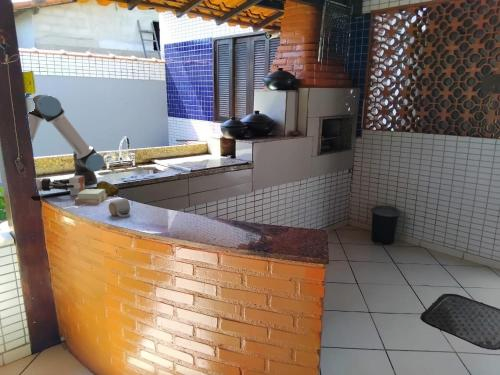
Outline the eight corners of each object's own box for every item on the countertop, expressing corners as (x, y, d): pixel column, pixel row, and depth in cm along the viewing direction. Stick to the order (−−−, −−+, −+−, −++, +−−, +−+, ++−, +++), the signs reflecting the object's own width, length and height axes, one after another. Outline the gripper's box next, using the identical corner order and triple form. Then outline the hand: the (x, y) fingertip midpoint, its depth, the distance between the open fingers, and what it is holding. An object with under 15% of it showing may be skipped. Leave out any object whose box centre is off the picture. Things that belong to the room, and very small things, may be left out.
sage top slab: (86, 194, 210) (85, 189, 210) (105, 194, 211) (105, 189, 210) (77, 198, 200) (77, 193, 199) (98, 199, 200) (97, 193, 199)
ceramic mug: (108, 214, 181) (107, 199, 180) (122, 211, 187) (122, 196, 186) (119, 219, 175) (118, 204, 173) (134, 215, 181) (133, 200, 179)
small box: (79, 195, 216) (78, 178, 214) (70, 195, 216) (68, 178, 214) (85, 192, 224) (84, 175, 222) (76, 192, 224) (75, 175, 222)
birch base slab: (84, 198, 212) (84, 193, 212) (107, 198, 213) (107, 193, 212) (75, 204, 200) (74, 199, 199) (99, 204, 200) (98, 199, 199)
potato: (109, 197, 213) (108, 184, 211) (94, 194, 219) (93, 181, 217) (120, 194, 220) (119, 181, 218) (106, 191, 226) (105, 179, 224)
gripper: (48, 186, 226) (85, 184, 232) (37, 196, 203) (79, 194, 208) (47, 174, 224) (84, 173, 230) (36, 183, 201) (78, 181, 207)
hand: (82, 183), depth 219 cm, fingers open, 13 cm apart
